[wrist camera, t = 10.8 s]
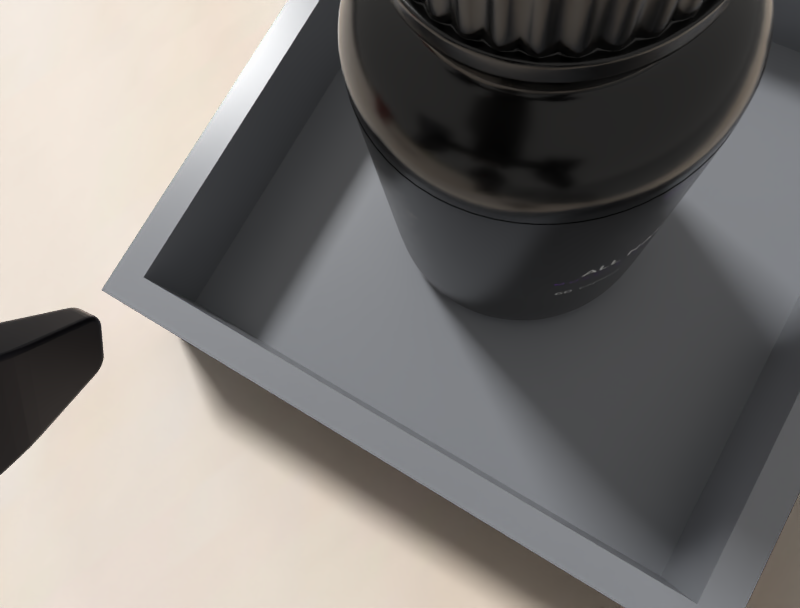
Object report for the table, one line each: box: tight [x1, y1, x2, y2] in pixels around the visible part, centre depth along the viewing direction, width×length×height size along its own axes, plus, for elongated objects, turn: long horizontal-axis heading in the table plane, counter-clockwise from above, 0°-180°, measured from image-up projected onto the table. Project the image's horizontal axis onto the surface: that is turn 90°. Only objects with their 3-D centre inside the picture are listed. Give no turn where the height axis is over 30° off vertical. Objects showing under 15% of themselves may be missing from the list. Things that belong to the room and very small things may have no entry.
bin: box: [102, 0, 800, 608], centre depth 17 cm, size 16×16×4 cm
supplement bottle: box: [338, 0, 774, 320], centre depth 13 cm, size 7×7×12 cm
